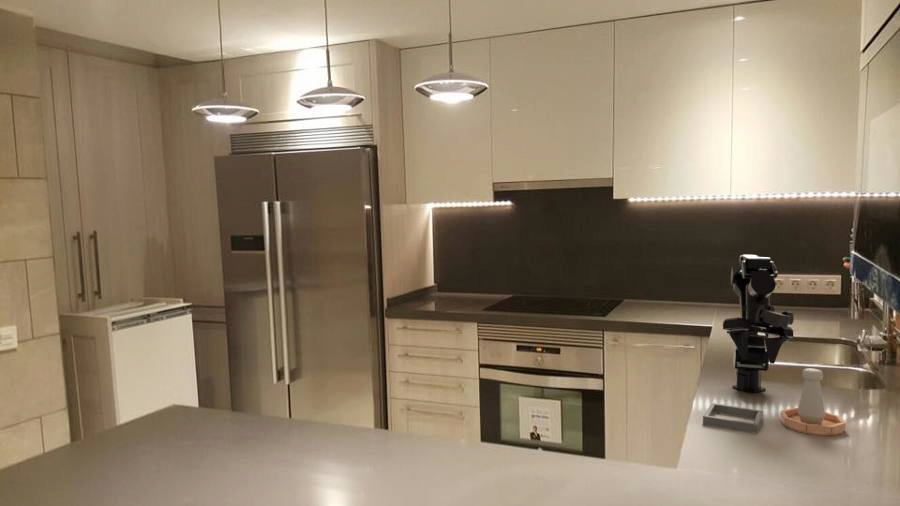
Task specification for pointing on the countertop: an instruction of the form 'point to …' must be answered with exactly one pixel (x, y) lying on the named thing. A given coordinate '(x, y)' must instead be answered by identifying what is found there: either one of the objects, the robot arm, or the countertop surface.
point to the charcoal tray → (730, 423)
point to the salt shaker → (811, 398)
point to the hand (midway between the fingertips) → (758, 361)
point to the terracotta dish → (826, 428)
